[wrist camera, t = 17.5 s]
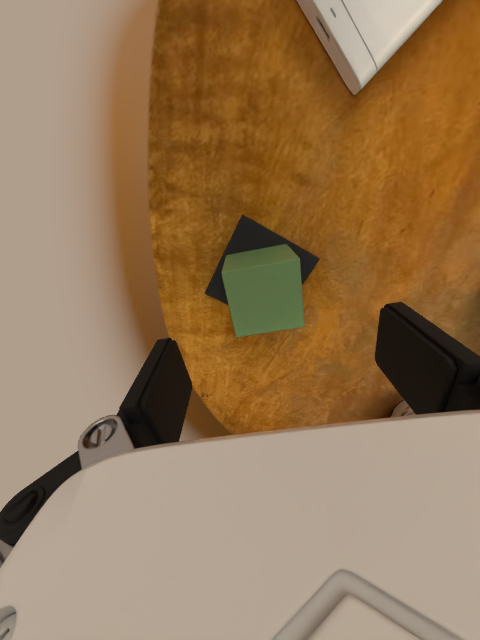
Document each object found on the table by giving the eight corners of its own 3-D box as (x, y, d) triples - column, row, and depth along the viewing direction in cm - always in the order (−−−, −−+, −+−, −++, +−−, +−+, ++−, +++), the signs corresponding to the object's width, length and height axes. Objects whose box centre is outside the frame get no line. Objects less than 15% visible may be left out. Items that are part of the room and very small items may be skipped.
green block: (237, 308, 24) (235, 337, 19) (226, 255, 21) (221, 272, 16) (291, 299, 23) (304, 327, 18) (286, 243, 21) (300, 258, 16)
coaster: (205, 292, 23) (204, 293, 23) (242, 214, 20) (242, 214, 20) (273, 324, 25) (274, 326, 25) (318, 258, 22) (319, 258, 21)
